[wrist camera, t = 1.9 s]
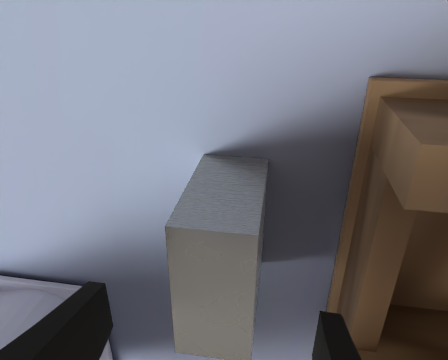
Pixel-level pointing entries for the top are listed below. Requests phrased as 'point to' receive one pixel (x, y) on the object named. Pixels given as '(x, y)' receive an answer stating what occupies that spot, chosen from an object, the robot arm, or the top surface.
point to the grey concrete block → (217, 257)
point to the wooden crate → (397, 225)
